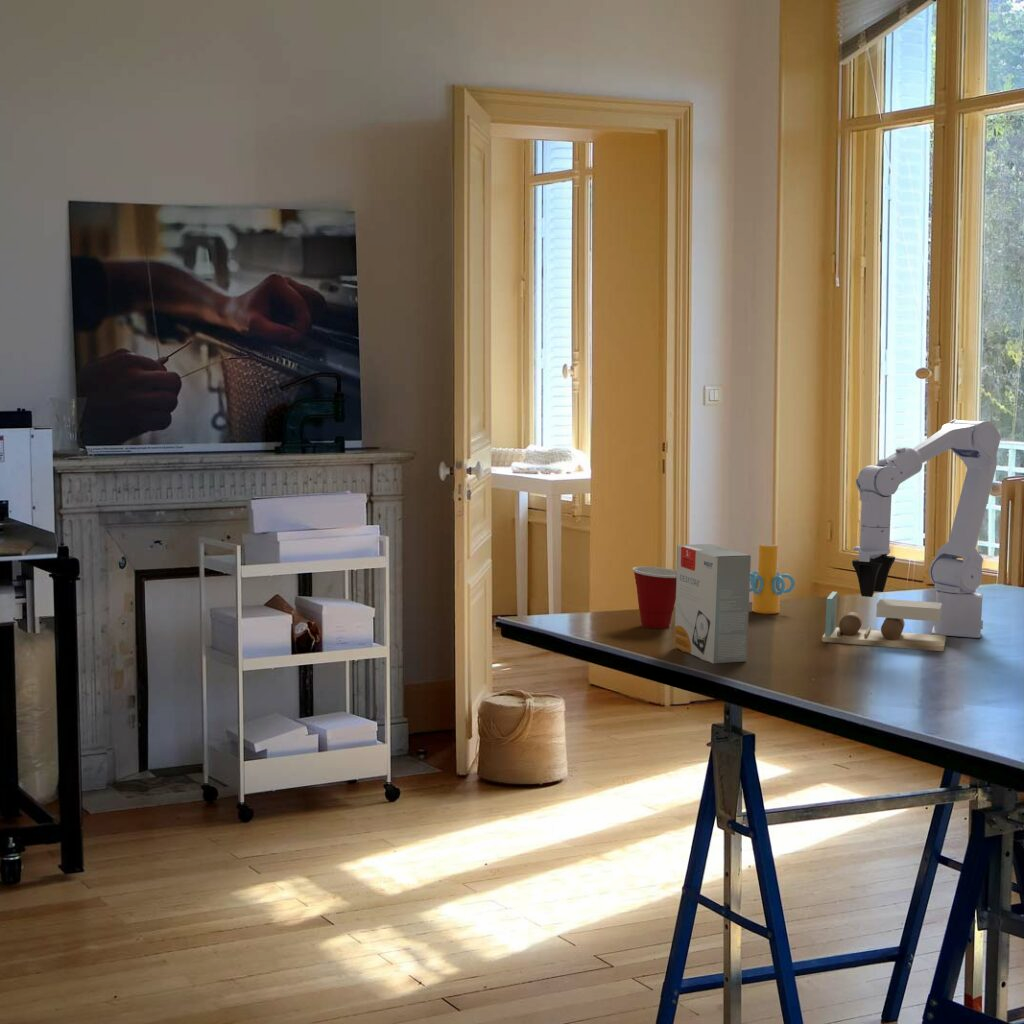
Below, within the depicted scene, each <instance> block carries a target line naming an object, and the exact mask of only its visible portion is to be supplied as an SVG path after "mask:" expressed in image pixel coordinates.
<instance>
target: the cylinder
mask: <svg viewBox="0 0 1024 1024" xmlns="http://www.w3.org/2000/svg"><path fill="white" fill-rule="evenodd" d="M757 566H758V568H757V570H754V571H752V572H750V589H749V593H750V592H752V603H751V604H752V605H751V606H752V607H751V610H752V612H754V613H757V614H762V615H763V614H764V615H774V614H779V613H780V607H781V605H780V604H781V595H783V594H788V593H791V592H792V591H793V590H794V588H795V586H796V583H795V579H794V577H793V576H792V575H791V574H788V573H783V574H780V573H779V572H778V571H777V569H778V544H775V543H774V544H773V543H772V544H771V543H760V544H759V545H758V565H757ZM784 578H787V579H789V580H790V583H791V584H790V586H789V588H787V589H786V582H785V579H784Z"/></svg>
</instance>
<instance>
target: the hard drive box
mask: <svg viewBox="0 0 1024 1024" xmlns="http://www.w3.org/2000/svg"><path fill="white" fill-rule="evenodd" d="M676 546H677V547H676V548H677V550H676V555H677V556H676V571H677V575H676V600H675V605H674V610H675V611H674V633H673V634H674V636H673V638H674V640H673V641H674V642H673V646H674V648H676V649H678V650H680V651H681V652H683V653H687V654H689V655H692V656H695V657H697V658H699V659H700V660H702V661H706V662H708V663H710V664H725V663H741V662H742V663H743V662H747V658H748V656H747V655H748V639H749V638H748V635H749V634H748V632H749V610H750V592H749V589H750V588H751V583H750V573H751V565H752V564H751V559H752V556H751V555H750V554H747V553H743V552H740V551H738V550H737V551H736V550H733V549H729V548H726V547H721V546H718V545H716V544H710V543H707V544H706V543H703V544H677V545H676Z"/></svg>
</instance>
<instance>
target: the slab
mask: <svg viewBox="0 0 1024 1024" xmlns="http://www.w3.org/2000/svg"><path fill="white" fill-rule="evenodd" d="M875 613H876V614H875V615H876V616H875V617H876V618H884V619H885V618H898V619H903V620H910V621H911V620H914V621H927V622H935V621H938V622H940V619H941V615H942V603H936V601H919V600H918V601H917V600H905V599H891V598H890V599H889V598H879V600H878V602H877V603H876V612H875Z"/></svg>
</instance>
